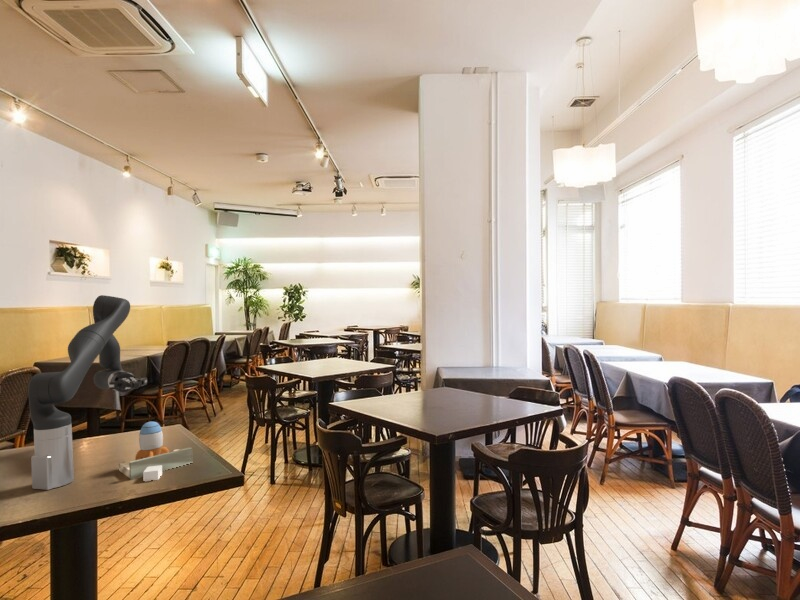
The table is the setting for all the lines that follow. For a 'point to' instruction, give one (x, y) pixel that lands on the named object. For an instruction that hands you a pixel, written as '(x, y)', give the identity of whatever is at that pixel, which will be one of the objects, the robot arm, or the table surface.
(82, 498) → the table surface
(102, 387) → the robot arm
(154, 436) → the toy rocket
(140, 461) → the cradle
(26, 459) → the table surface
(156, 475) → the fin block
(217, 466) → the table surface
